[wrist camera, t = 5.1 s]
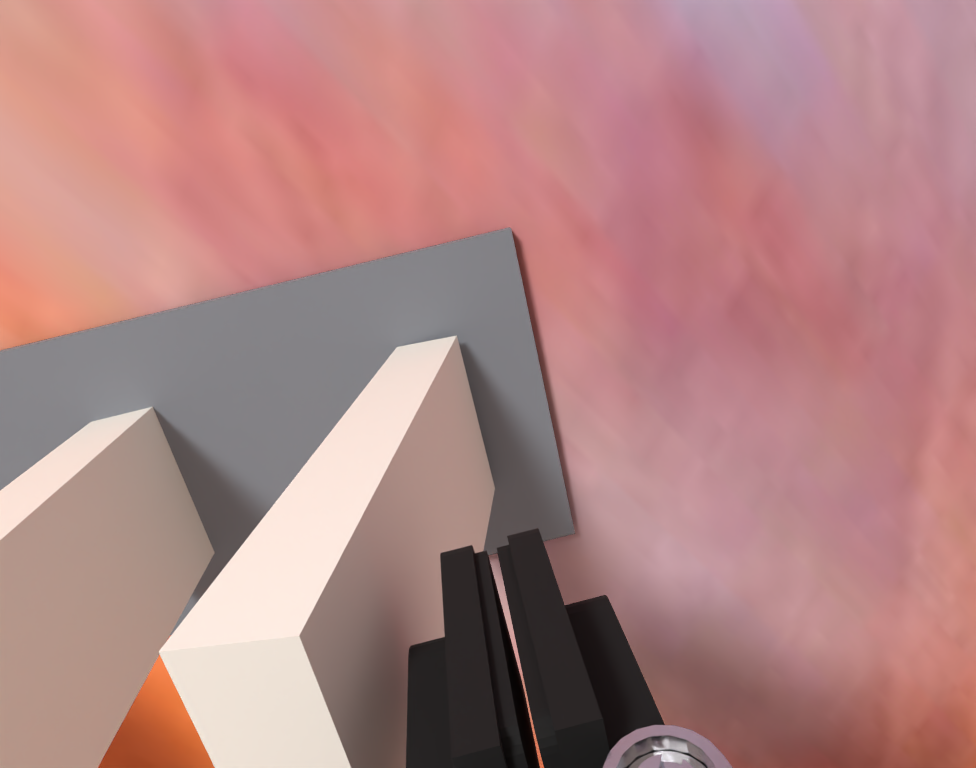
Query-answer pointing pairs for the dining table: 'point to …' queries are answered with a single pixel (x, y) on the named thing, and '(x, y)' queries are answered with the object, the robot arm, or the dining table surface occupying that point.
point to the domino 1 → (90, 587)
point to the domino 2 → (341, 580)
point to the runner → (299, 383)
